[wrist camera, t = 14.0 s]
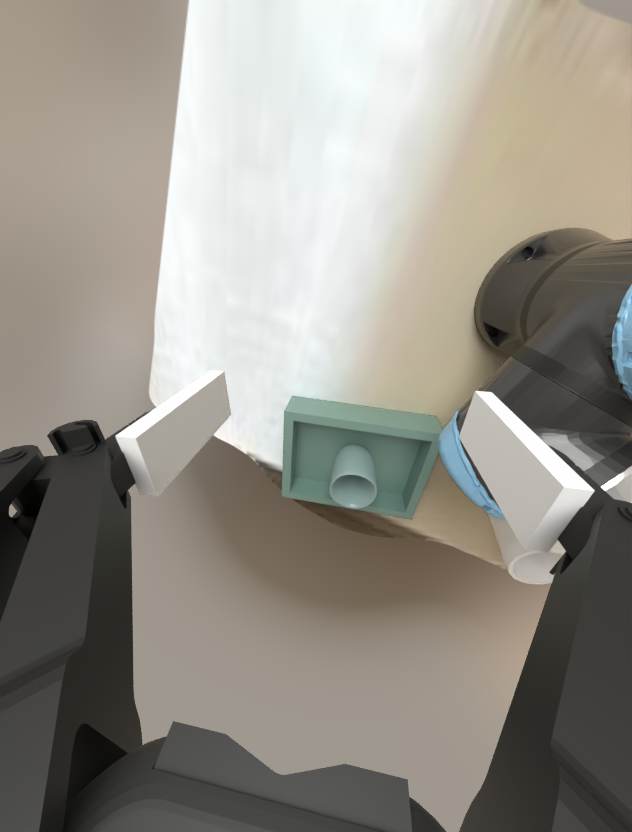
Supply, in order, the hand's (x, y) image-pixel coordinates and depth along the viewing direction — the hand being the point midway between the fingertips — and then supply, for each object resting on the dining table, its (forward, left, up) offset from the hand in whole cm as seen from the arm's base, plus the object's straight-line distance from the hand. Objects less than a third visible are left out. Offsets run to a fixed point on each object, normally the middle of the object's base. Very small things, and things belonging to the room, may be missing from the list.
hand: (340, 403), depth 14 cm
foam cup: (-36, +33, -30) cm, 58 cm away
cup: (-4, +25, -29) cm, 38 cm away
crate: (-4, +25, -30) cm, 39 cm away
